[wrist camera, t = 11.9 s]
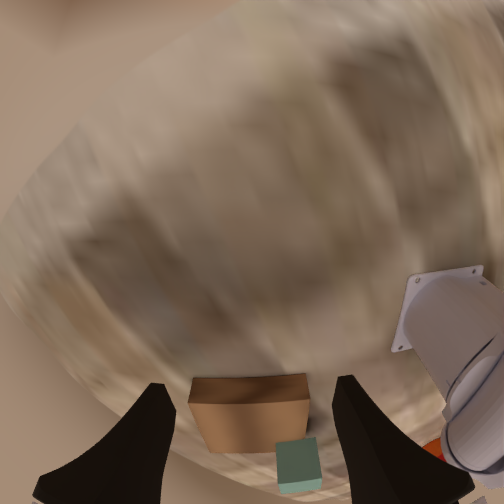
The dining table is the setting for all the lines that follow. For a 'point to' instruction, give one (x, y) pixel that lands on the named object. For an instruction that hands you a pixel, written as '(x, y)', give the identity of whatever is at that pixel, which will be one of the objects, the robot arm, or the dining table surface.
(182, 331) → the dining table surface
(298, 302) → the dining table surface
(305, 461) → the teal block
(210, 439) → the walnut plinth
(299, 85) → the dining table surface
